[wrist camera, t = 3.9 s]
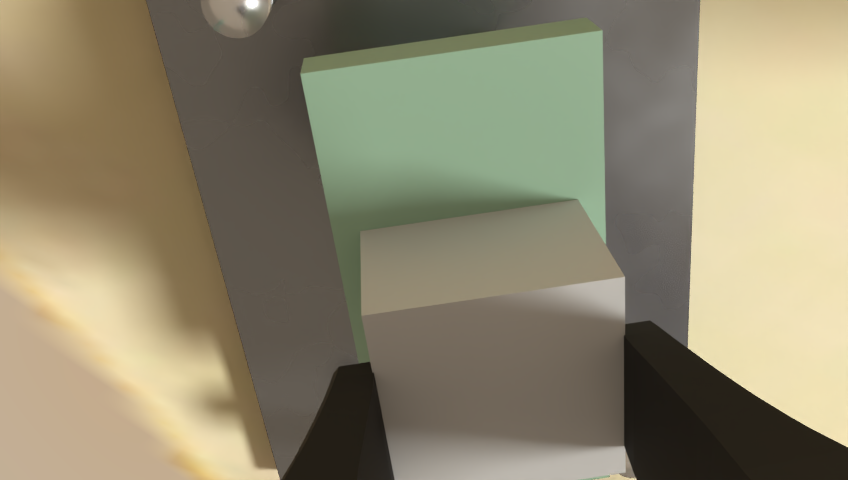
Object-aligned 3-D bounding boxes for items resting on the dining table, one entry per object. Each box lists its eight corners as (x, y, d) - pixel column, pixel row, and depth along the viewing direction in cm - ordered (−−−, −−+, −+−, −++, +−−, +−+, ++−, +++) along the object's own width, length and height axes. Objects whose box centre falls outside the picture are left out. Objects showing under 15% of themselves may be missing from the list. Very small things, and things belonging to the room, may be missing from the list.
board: (597, 446, 18) (651, 583, 15) (386, 477, 18) (393, 622, 15) (587, 17, 14) (661, 78, 10) (303, 57, 14) (287, 132, 10)
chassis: (674, 413, 24) (722, 498, 21) (285, 470, 24) (274, 565, 21) (691, -176, 17) (768, -181, 13) (130, -97, 16) (76, -84, 13)
